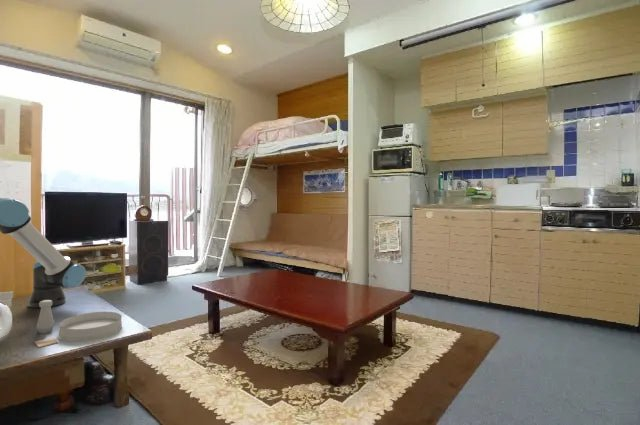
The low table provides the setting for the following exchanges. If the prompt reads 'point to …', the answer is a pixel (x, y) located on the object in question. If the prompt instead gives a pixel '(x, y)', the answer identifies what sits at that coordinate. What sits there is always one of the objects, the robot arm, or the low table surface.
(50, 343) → the cork coaster
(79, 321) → the dish
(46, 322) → the salt shaker
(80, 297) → the low table surface
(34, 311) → the low table surface
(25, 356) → the low table surface
